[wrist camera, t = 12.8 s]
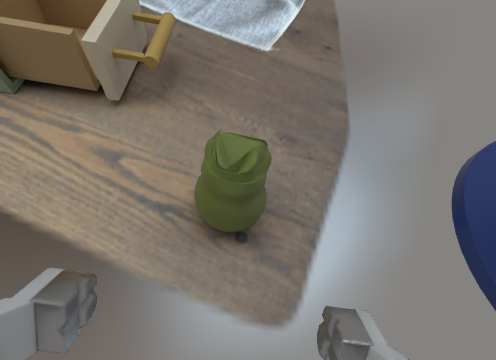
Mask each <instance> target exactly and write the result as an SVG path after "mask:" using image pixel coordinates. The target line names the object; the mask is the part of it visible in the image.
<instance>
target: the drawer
mask: <svg viewBox="0 0 496 360" xmlns="http://www.w3.org/2000/svg"><path fill="white" fill-rule="evenodd" d="M144 22H149V23H155V24H159V25H158V27H157V29H156V32H155V34H154V36H153V38H152V40H151V43H150V45H149V47H148V49H147V51H146V54H145V53H142V51H143V49H144V47H145V44H146V42H147V40H148V39H147V35H146V30H145V26H144ZM175 23H176V19H175V17H174V15H173V14H171V13H168V12H167V13H164V14H163V16H157V15H151V14H145V13H141V8H140V4H139V0H0V67H1V68H2V69H3V70H4V72H5V73H6V74H7V75H8V76H9V77H14V78H20V79H27V80H33V81H39V82H45V83H51V84H57V85H63V86H69V87H75V88H82V89H88V90H94V91H97V90H98V88H99V86H100V84H101V85H102V87H103V89H104V92H105V94H106V96H107V98H108V99H111V100H117V101H119V100H120V98H121V96H122V94H123V92H124V89H125V87H126V85H127V83H128V81H129V79H130V77H131V74H132V72H133V70H134V68H135V66H136V64H137V62H138V61H139V62H144V64H145V65H146V66H147V67H149V68H152V69H155V68H157V67H158V65H159V63H160V60H161V58H162V55H163V53H164V50H165V48H166V45H167V43H168V41H169V38H170V36H171V33H172V31H173V28H174V26H175Z"/></svg>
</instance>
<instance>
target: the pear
mask: <svg viewBox="0 0 496 360" xmlns="http://www.w3.org/2000/svg"><path fill="white" fill-rule="evenodd" d="M267 146H268V145H267V142H266V141H265V140H262V139H257V138H252V137H247V136H242V135H238V134H233V133H229V132H224V131H219V132H217V133H216V134H215V135H214V137H212V138H211V139H209V140H208V142H207V143H206V147H205V157H204V160H203V163H202V167H201V173H202V174H201V176H200V177H199V179H198V181H197V183H196V186H195V203H196V206H197V209H198V211H199V213H200V215H201V216H202V218H203V219H204V220H205V221H206V222H207V223H208V224H209V225H210V226H212V227H214V228H216V229H218V230H221V231H225V232H238V231H242V230H245V229H247V228H249V227H250V226H251V225H253V224H254V223H255V222H256V221H257V220H258V219H259V217H260V216H261V214H262V212H263V210H264V208H265V204H266V189H265V187H264V185H265V181H266V173H267V170H268V168H269V166H270V164H271V154H270V152H269V151H268V148H267Z"/></svg>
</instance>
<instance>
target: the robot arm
mask: <svg viewBox="0 0 496 360" xmlns="http://www.w3.org/2000/svg"><path fill="white" fill-rule="evenodd" d="M96 285H97V276H96V275H95V274H89V273H84V272H78V271H71V270H64V269H57V268H48V269H46V270H45V271H44V272H43V273H42V274H40V275H39V276H38V277H37V278H35V279H34V280H33V281H32V282H31V283H29V284H28V285H27V286H26V287H24V288H23V289H22V290H21V291H20V292H18V293H17V294H16V295H15V296H14V297H12V298H4V299H2V300H0V360H26V359H28V358H29V357H31V356H32V355H34V354H35V353H36V352H37V351H43V352H54V353H64V354H65V353H66V352H67V351H68V350H69V348H70V347H71V346H72V344H73V343H74V341H75V340H76V339H77V337H78V336H79V329H80V328H82V327H84V326H85V325H87V324H88V322H89V321H90V319H91V318H92V315H93V313H94V311H95V307H96V303H97V295H96V294H95V292H94V291H93V289H94V288H95V287H96ZM322 316H323V319H324V322H323V323H322V324H320V325H319V329H318V333H317V345H318V350H319V354H320V356H321V357H322V358H323V359H324V360H409V359H407V358H406V357H405V356H404V355H402V354H401V353H399V352H398V351H397V350H396V349H392V348H390V346H389V344H388V343H387V341H386V340H385V337H384V336H383V334H382V332H381V331H380V329H379V327H378V325H377V324H376V322H375V320H374V319H373V317H372V315H371V313H370V312H369V311H367V310H358V309H346V308H339V307H330V306H326V307H325V308H324V311H323V314H322Z"/></svg>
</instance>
